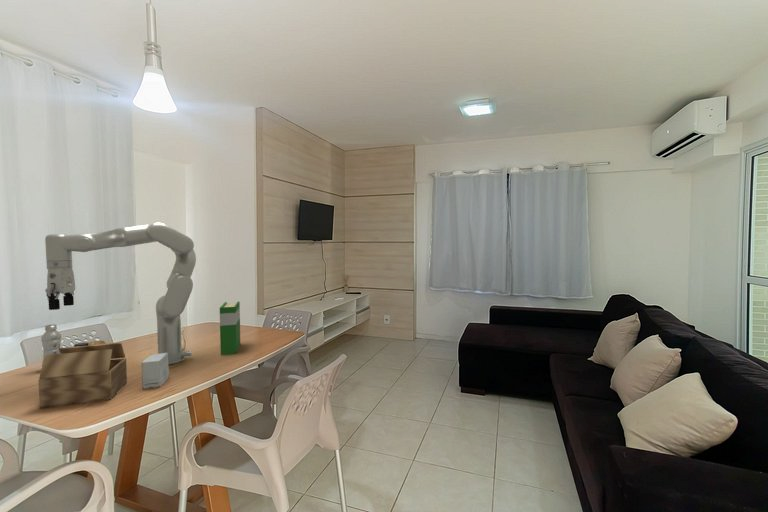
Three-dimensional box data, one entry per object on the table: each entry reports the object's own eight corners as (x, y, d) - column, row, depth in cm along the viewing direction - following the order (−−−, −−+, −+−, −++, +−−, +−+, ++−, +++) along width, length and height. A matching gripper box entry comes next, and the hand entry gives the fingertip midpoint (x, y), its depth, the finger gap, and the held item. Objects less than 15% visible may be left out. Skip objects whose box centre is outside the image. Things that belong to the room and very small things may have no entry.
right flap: (125, 357, 138) (125, 356, 138) (120, 343, 134) (121, 342, 134) (64, 363, 131) (65, 362, 132) (58, 349, 127) (59, 348, 128)
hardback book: (225, 345, 189) (224, 302, 188) (240, 344, 191) (239, 301, 191) (220, 355, 172) (219, 307, 172) (236, 353, 174) (235, 306, 174)
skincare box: (151, 378, 142) (151, 353, 142) (169, 377, 144) (168, 352, 144) (141, 389, 132) (140, 362, 132) (160, 386, 134) (159, 360, 134)
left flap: (112, 349, 126) (111, 349, 126) (108, 371, 123) (108, 371, 122) (45, 355, 120) (45, 355, 119) (39, 378, 116) (39, 378, 116)
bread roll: (110, 351, 180) (109, 336, 180) (103, 359, 167) (103, 343, 167) (86, 354, 175) (85, 339, 175) (77, 363, 162) (77, 346, 162)
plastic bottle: (50, 367, 157) (48, 324, 156) (66, 366, 157) (64, 323, 157) (37, 372, 150) (35, 327, 150) (54, 372, 151) (52, 326, 150)
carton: (127, 382, 138) (126, 358, 138) (111, 399, 123) (110, 371, 123) (64, 390, 131) (63, 364, 131) (39, 409, 116) (38, 379, 116)
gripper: (58, 266, 131) (60, 310, 132) (82, 263, 147) (84, 303, 148) (33, 266, 129) (35, 312, 129) (60, 264, 145) (63, 304, 146)
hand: (61, 307), depth 139 cm, fingers open, 9 cm apart
